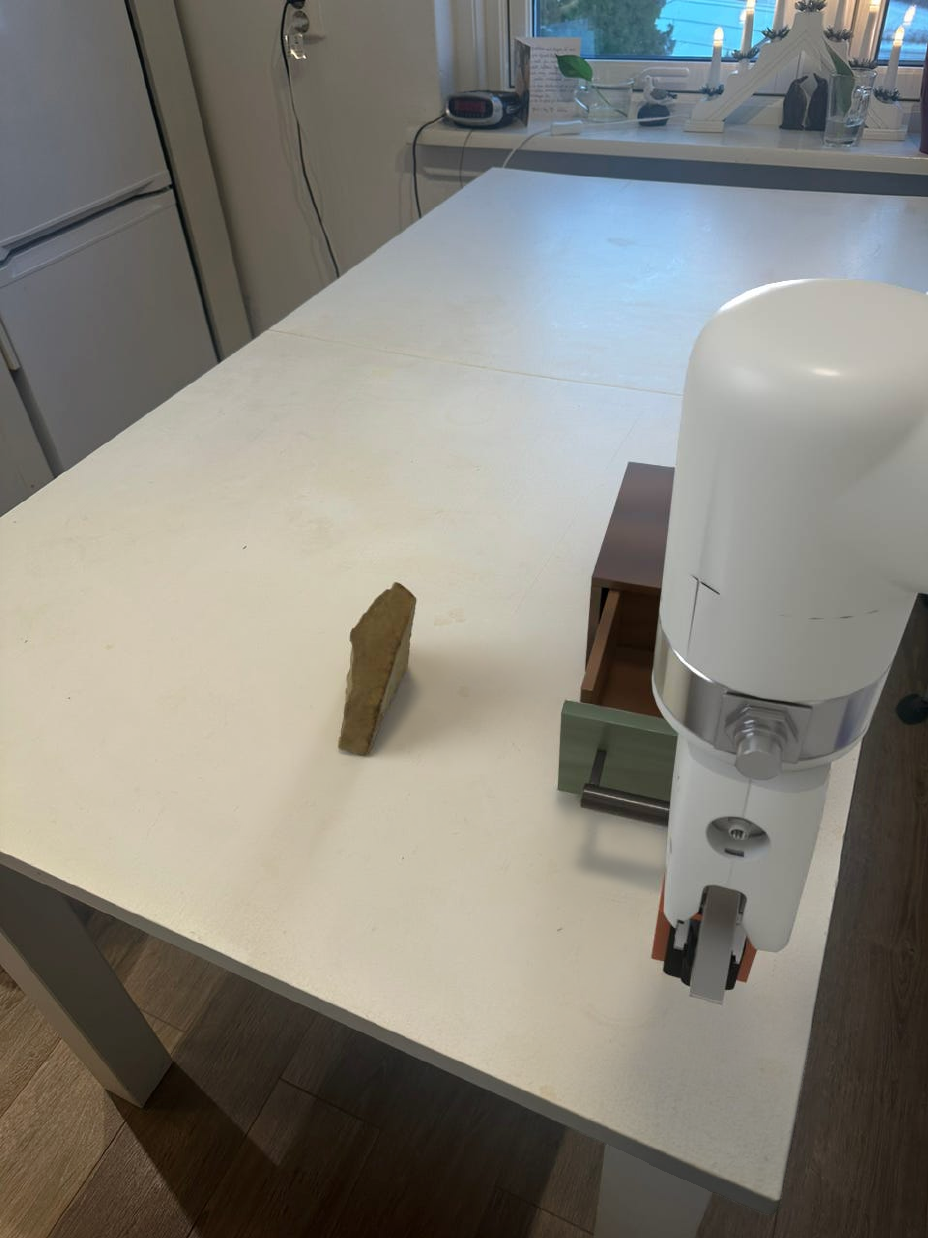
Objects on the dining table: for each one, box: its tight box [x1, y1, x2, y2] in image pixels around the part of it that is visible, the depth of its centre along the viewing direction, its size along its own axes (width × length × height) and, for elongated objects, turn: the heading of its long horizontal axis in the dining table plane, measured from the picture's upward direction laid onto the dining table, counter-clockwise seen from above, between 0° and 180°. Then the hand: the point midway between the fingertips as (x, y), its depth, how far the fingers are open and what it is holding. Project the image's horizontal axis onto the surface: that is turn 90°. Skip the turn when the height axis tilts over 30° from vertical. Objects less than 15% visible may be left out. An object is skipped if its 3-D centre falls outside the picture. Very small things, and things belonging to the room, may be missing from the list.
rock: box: [337, 581, 417, 755], centre depth 64 cm, size 11×9×10 cm
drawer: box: [557, 588, 678, 829], centre depth 58 cm, size 19×10×8 cm, turn 162°
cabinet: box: [584, 460, 675, 673], centre depth 69 cm, size 16×12×10 cm
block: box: [650, 866, 758, 984], centre depth 41 cm, size 4×4×4 cm
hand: (704, 925), depth 42 cm, fingers closed on block, 4 cm apart
